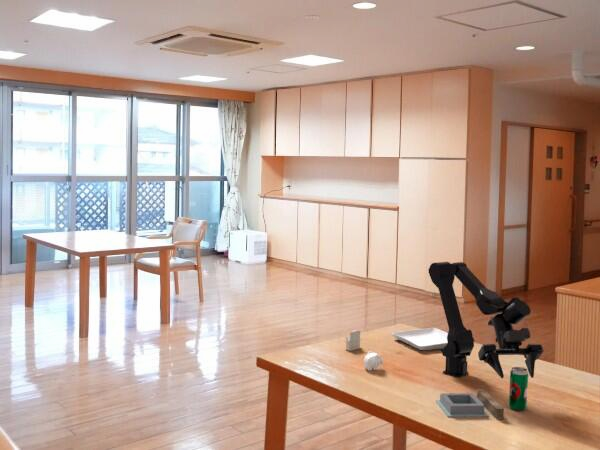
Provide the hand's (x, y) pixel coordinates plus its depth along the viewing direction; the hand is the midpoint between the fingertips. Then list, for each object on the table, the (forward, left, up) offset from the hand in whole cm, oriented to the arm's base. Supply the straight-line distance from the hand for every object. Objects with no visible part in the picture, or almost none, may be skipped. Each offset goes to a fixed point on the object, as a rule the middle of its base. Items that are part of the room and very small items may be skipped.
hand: (517, 377), depth 197 cm
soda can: (+1, -1, -9) cm, 9 cm away
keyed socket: (-10, -14, -9) cm, 19 cm away
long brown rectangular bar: (-5, -7, -9) cm, 13 cm away
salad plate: (-57, +37, -9) cm, 69 cm away
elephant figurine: (-51, -5, -9) cm, 52 cm away
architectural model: (-72, +9, -10) cm, 73 cm away
